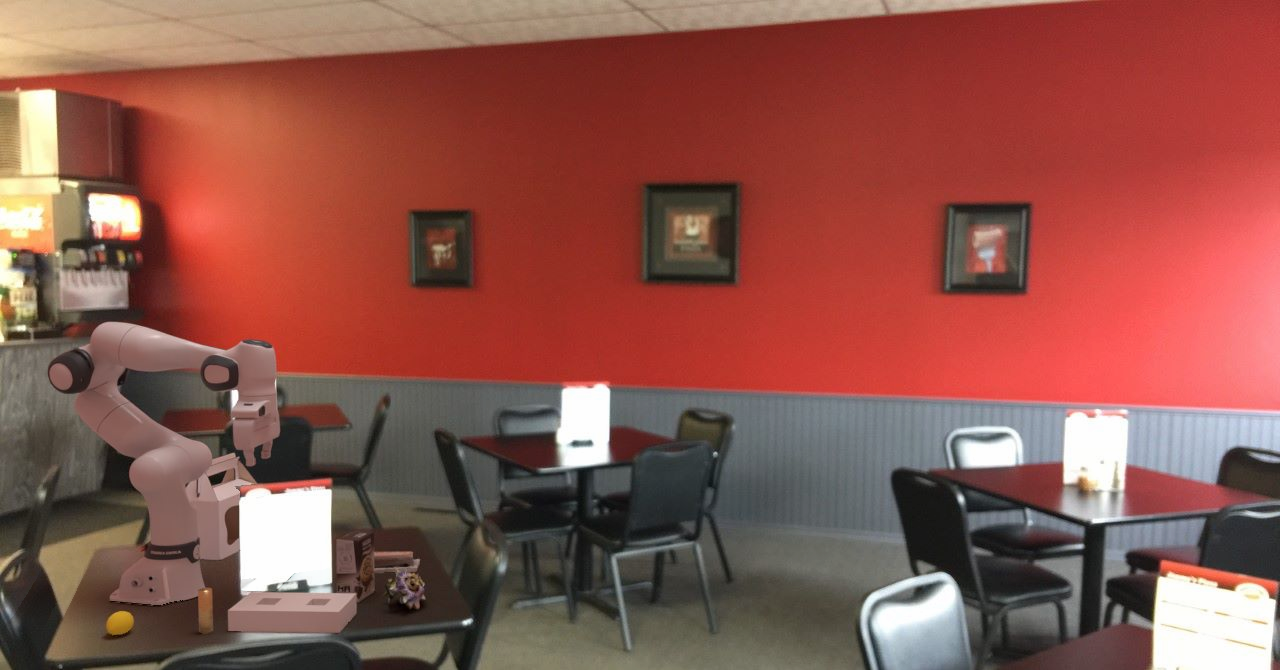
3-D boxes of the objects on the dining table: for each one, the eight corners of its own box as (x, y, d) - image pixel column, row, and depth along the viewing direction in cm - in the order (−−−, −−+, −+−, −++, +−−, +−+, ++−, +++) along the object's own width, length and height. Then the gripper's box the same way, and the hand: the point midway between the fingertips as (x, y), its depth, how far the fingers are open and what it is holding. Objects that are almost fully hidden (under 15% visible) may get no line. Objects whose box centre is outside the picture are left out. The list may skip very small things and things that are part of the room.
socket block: (228, 631, 229) (227, 610, 228) (251, 612, 242) (251, 592, 241) (339, 632, 228) (339, 611, 228) (356, 613, 241) (356, 593, 241)
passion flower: (416, 629, 245) (412, 601, 238) (375, 619, 247) (370, 590, 239) (433, 593, 254) (430, 564, 246) (394, 583, 255) (389, 554, 248)
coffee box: (359, 603, 249) (358, 540, 248) (335, 601, 250) (334, 538, 249) (375, 591, 258) (375, 531, 256) (353, 589, 259) (352, 529, 258)
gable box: (219, 561, 284) (217, 465, 282) (178, 558, 286) (175, 463, 284) (261, 540, 306) (259, 451, 304) (222, 538, 308) (220, 449, 306)
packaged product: (350, 558, 272) (356, 548, 281) (350, 576, 272) (356, 565, 282) (417, 556, 274) (420, 546, 284) (417, 573, 274) (420, 563, 284)
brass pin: (196, 634, 227) (195, 591, 226) (202, 629, 230) (201, 587, 229) (209, 634, 227) (208, 592, 226) (215, 629, 230) (214, 587, 229)
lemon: (122, 642, 223) (119, 620, 222) (100, 641, 224) (97, 619, 223) (141, 627, 230) (139, 606, 229) (120, 626, 231) (117, 604, 230)
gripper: (261, 400, 251) (262, 453, 252) (227, 411, 231) (228, 470, 231) (286, 400, 251) (286, 454, 252) (254, 412, 231) (255, 470, 231)
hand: (258, 461), depth 241 cm, fingers open, 8 cm apart
